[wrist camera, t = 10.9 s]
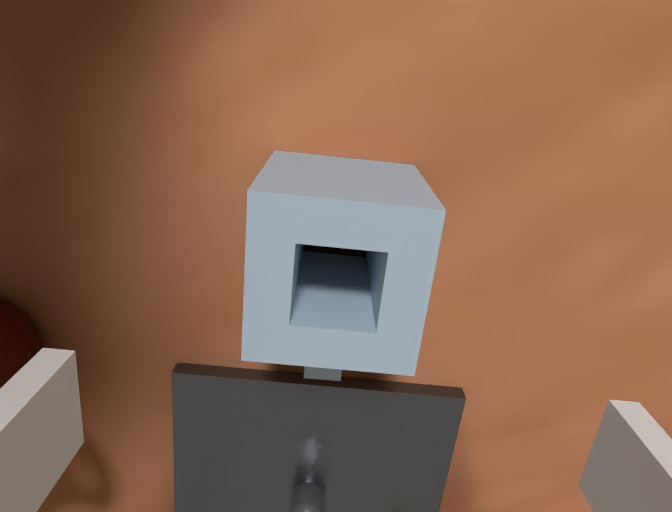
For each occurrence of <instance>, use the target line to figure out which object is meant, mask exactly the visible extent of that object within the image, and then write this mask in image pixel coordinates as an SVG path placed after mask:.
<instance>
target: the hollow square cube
mask: <svg viewBox="0 0 672 512" xmlns="http://www.w3.org/2000/svg"><path fill="white" fill-rule="evenodd" d="M445 214H446V209H445V208H444V207H443V205H442V204H441V202H440V201H439V199H438V198H437V197H436V195H435V194H434V192H433V191H432V189H431V188H430V187H429V185H428V184H427V182H426V181H425V179H424V178H423V177H422V175H421V174H420V172H419V171H418V170H417V168H416V167H415V165H411V164H401V163H392V162H382V161H373V160H363V159H353V158H344V157H334V156H324V155H315V154H305V153H295V152H286V151H276V150H275V151H274V152H273V154H272V155H271V157H270V158H269V160H268V161H267V162H266V164H265V165H264V167H263V168H262V170H261V171H260V173H259V174H258V176H257V177H256V179H255V180H254V182H253V183H252V185H251V186H250V187H249V189H248V193H247V219H246V245H245V272H244V298H243V324H242V350H241V361H251V362H262V363H273V364H284V365H295V366H305V368H304V378H310V379H321V380H332V381H341V374H342V370H352V371H363V372H374V373H385V374H396V375H407V376H415V371H416V365H417V360H418V355H419V350H420V344H421V339H422V334H423V329H424V324H425V318H426V313H427V308H428V303H429V297H430V292H431V287H432V282H433V277H434V271H435V266H436V261H437V256H438V250H439V245H440V240H441V235H442V230H443V224H444V219H445ZM303 244H305V245H315V246H325V247H335V248H346V249H356V250H366V257H359V256H349V255H339V254H329V253H318V252H308V251H303Z"/></svg>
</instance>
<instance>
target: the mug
mask: <svg viewBox="0 0 672 512" xmlns="http://www.w3.org/2000/svg"><path fill="white" fill-rule="evenodd" d="M42 348H43V346H42V342H41V339H40V337H39V335H38V333H37V331H36V329H35V328H34V326H33V325H32V323H31V322H30V321H29V320H28V319H27V318H26V316H25V315H24V314H22V313H21V312H20V311H19V310H18V309H16V308H15V307H14V306H12V305H11V304H9V303H7V302H6V301H4V300H2V299H0V388H1V387H3V386H4V385H5V384H6V383H7V382H8V381H9V380H10V379H11V378H12V377H13V376H14V375H15V374H16V373H17V372H18V371H19V370H20V369H21V368H22V367H23V366H24V365H26V364H27V363H28V362H29V361H30V360H31V359H32V358H33V357H34V356H35V355H36V354H37V353H38V352H39V351H40V350H41V349H42Z"/></svg>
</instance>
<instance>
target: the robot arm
mask: <svg viewBox="0 0 672 512" xmlns="http://www.w3.org/2000/svg"><path fill="white" fill-rule="evenodd" d="M83 443H84V435H83V425H82V415H81V404H80V394H79V384H78V374H77V364H76V354H75V351H73V350H62V349H51V348H42V349H41V350H40V351H39V352H38V353H37V354H36V355H35V356H34V357H33V358H32V359H31V360H30V361H29V362H28V363H27V364H26V365H24V366H23V367H22V368H21V369H20V370H19V371H18V372H17V373H16V374H15V375H14V376H13V377H12V378H11V379H10V380H9V381H8V382H7V383H6V384H5V385H4V386H3V387H1V388H0V512H37V511H38V509H39V508H40V506H41V505H42V503H43V502H44V500H45V499H46V497H47V496H48V494H49V493H50V492H51V490H52V489H53V487H54V486H55V484H56V483H57V481H58V480H59V478H60V477H61V475H62V474H63V472H64V471H65V469H66V468H67V466H68V465H69V463H70V462H71V461H72V459H73V458H74V456H75V455H76V453H77V452H78V450H79V449H80V447H81V446H82V444H83ZM578 485H579V487H580V488H581V490H582V492H583V494H584V495H585V497H586V499H587V501H588V502H589V504H590V506H591V508H592V510H593V511H594V512H672V439H671V438H670V437H669V436H668V435H667V434H666V432H665V431H664V430H663V429H662V428H661V427H660V426H659V424H658V423H657V422H656V421H655V420H654V419H653V418H652V417H651V415H650V414H649V413H648V412H647V411H646V410H645V409H644V407H643V406H642V405H641V404H640V403H639V402H629V401H618V400H609V401H608V404H607V407H606V409H605V412H604V415H603V418H602V420H601V423H600V426H599V429H598V432H597V434H596V437H595V440H594V443H593V445H592V448H591V451H590V454H589V456H588V459H587V462H586V465H585V468H584V470H583V473H582V476H581V479H580V481H579V484H578Z"/></svg>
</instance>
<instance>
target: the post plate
mask: <svg viewBox="0 0 672 512" xmlns="http://www.w3.org/2000/svg"><path fill="white" fill-rule="evenodd" d="M172 392H173V437H174V482H175V512H439V508H440V504H441V499H442V495H443V491H444V487H445V483H446V479H447V475H448V471H449V466H450V462H451V458H452V454H453V450H454V446H455V442H456V437H457V433H458V429H459V425H460V421H461V417H462V413H463V409H464V404H465V400H466V397H465V395H464V392H463V389H462V388H457V387H446V386H434V385H423V384H412V383H401V382H389V381H378V380H367V379H355V378H344V377H341V381H332V380H321V379H310V378H304V374H299V373H288V372H277V371H265V370H254V369H243V368H232V367H220V366H209V365H198V364H186V363H177V364H176V366H175V368H174V370H173V372H172Z"/></svg>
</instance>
